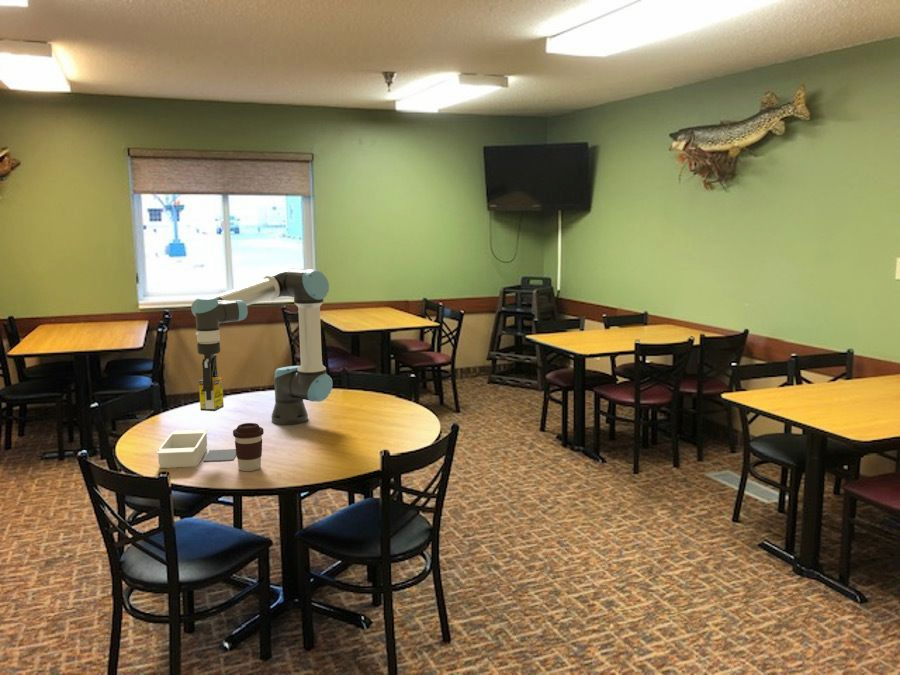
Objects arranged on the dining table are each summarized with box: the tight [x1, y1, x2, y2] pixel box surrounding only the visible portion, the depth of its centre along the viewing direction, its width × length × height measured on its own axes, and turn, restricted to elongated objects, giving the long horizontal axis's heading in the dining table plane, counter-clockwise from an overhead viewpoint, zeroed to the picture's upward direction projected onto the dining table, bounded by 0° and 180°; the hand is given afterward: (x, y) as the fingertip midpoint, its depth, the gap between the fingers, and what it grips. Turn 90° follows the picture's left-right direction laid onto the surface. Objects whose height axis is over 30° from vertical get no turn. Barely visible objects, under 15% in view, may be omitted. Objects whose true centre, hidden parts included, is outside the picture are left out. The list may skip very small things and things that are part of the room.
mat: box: [203, 448, 237, 463], centre depth 249 cm, size 10×12×1 cm
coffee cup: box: [232, 422, 265, 472], centre depth 235 cm, size 10×10×15 cm
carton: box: [156, 428, 208, 469], centre depth 245 cm, size 13×27×6 cm, turn 10°
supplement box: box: [198, 377, 224, 412], centre depth 245 cm, size 6×6×11 cm
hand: (212, 405), depth 246 cm, fingers closed on supplement box, 7 cm apart
